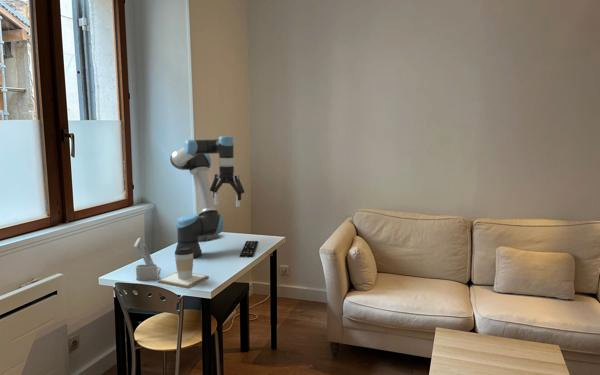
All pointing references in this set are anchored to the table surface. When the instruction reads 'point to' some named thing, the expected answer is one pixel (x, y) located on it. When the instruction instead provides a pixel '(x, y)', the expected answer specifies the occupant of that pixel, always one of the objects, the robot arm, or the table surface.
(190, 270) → the coffee cup
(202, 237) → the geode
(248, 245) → the remote control
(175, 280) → the notebook
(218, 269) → the table surface
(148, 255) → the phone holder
